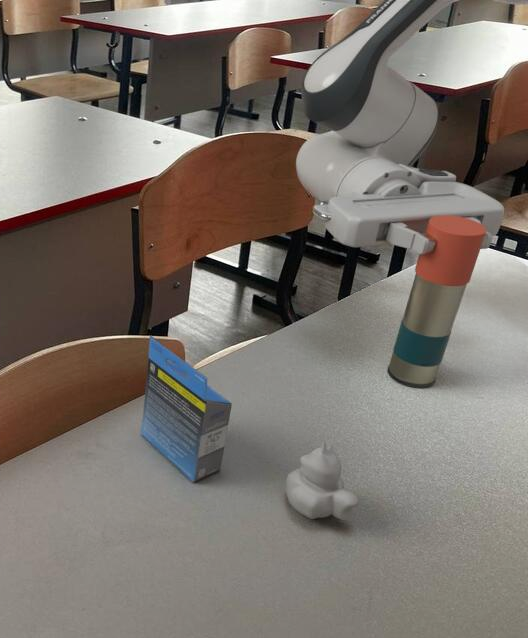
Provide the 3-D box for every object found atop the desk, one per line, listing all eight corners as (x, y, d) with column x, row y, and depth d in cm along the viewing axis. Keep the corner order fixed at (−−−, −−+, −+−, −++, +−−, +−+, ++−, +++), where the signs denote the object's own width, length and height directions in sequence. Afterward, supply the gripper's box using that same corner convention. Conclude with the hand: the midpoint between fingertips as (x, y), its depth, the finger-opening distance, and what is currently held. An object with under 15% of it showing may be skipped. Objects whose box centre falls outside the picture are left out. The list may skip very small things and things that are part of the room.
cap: (452, 263, 87) (468, 214, 84) (480, 286, 82) (497, 235, 79) (405, 264, 87) (419, 215, 84) (430, 286, 82) (445, 235, 79)
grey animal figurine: (300, 480, 74) (316, 415, 70) (363, 517, 70) (384, 450, 66) (269, 506, 71) (284, 439, 67) (333, 546, 67) (353, 477, 63)
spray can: (421, 363, 93) (452, 264, 87) (443, 387, 89) (478, 285, 82) (379, 363, 93) (407, 264, 86) (399, 388, 89) (431, 286, 82)
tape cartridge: (223, 471, 75) (241, 367, 69) (192, 484, 74) (208, 379, 67) (167, 423, 82) (179, 324, 76) (138, 434, 80) (147, 334, 74)
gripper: (310, 179, 90) (379, 224, 78) (460, 170, 94) (547, 211, 82) (300, 229, 93) (365, 279, 81) (446, 218, 97) (527, 264, 85)
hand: (458, 245), depth 82 cm, fingers closed on cap, 5 cm apart
